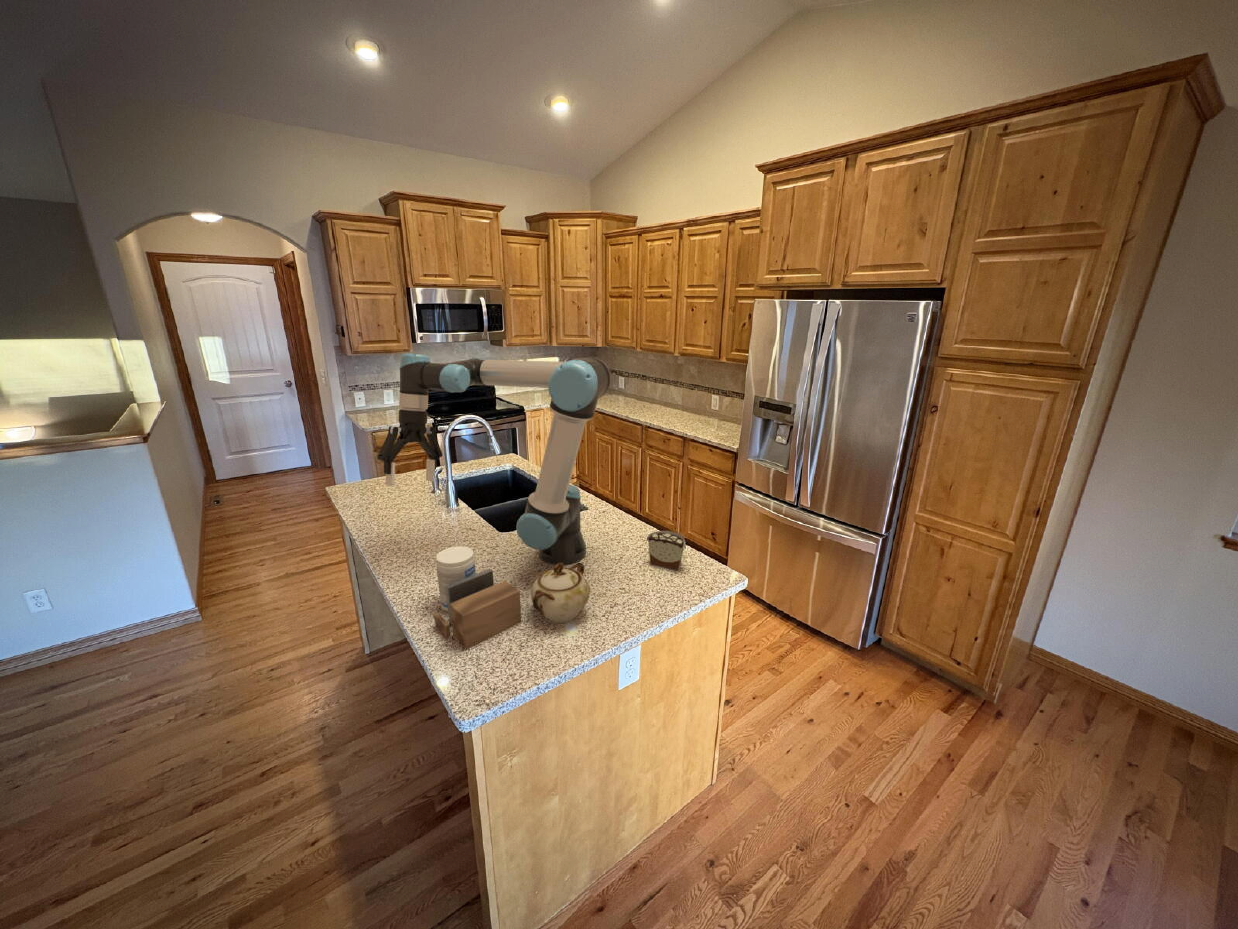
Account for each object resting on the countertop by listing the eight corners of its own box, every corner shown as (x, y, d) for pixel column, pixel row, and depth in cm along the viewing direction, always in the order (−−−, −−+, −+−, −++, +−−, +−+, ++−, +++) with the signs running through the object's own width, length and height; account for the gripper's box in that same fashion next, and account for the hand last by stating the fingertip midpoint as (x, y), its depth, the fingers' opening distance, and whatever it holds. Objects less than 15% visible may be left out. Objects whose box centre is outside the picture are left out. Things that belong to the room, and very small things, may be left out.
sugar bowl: (559, 645, 114) (557, 589, 109) (512, 623, 121) (509, 570, 117) (606, 604, 130) (606, 554, 125) (562, 587, 137) (561, 539, 132)
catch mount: (435, 626, 119) (431, 595, 117) (499, 598, 131) (497, 569, 129) (460, 652, 111) (456, 619, 108) (526, 619, 123) (524, 589, 120)
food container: (689, 564, 151) (691, 535, 147) (683, 573, 145) (685, 543, 142) (652, 555, 155) (653, 527, 152) (645, 564, 150) (646, 534, 147)
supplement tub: (477, 612, 125) (473, 561, 121) (439, 616, 123) (433, 565, 119) (479, 591, 134) (475, 544, 130) (443, 595, 132) (437, 547, 128)
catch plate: (448, 619, 120) (444, 584, 117) (491, 600, 128) (488, 567, 125) (452, 623, 119) (448, 588, 116) (495, 604, 127) (492, 570, 124)
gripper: (439, 409, 149) (436, 477, 152) (363, 406, 127) (362, 485, 130) (456, 411, 146) (453, 480, 149) (382, 409, 124) (380, 490, 127)
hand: (410, 483), depth 139 cm, fingers open, 13 cm apart
